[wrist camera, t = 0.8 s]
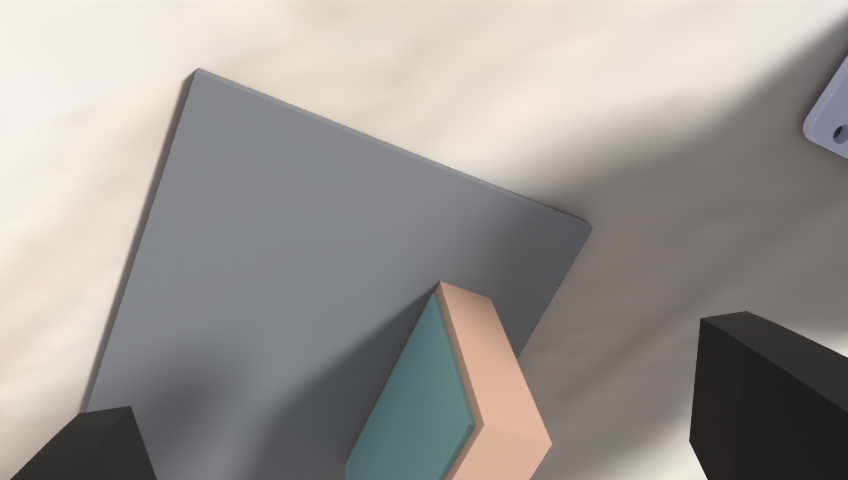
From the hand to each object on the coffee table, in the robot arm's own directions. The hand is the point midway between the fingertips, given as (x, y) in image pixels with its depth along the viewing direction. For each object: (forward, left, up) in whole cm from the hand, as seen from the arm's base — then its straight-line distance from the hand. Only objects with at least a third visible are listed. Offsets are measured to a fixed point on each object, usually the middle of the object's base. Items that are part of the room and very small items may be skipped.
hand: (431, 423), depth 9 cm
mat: (-1, +6, -10) cm, 12 cm away
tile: (-4, +6, -10) cm, 12 cm away
